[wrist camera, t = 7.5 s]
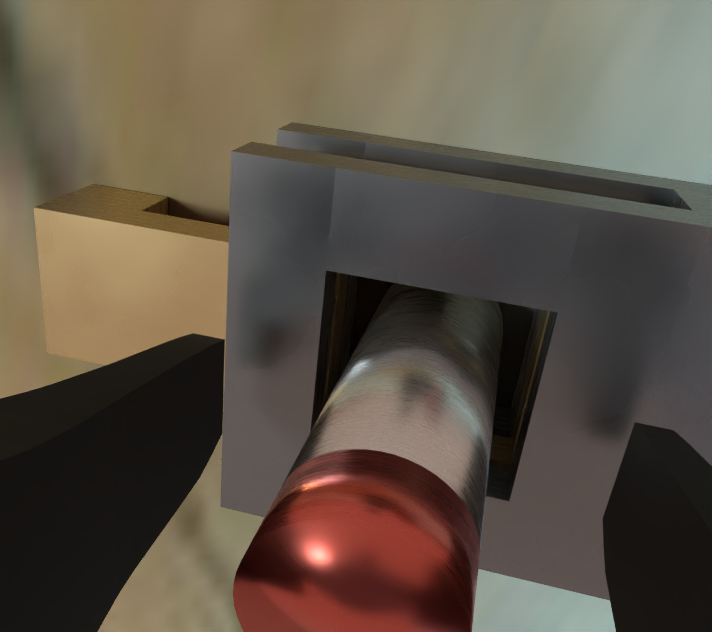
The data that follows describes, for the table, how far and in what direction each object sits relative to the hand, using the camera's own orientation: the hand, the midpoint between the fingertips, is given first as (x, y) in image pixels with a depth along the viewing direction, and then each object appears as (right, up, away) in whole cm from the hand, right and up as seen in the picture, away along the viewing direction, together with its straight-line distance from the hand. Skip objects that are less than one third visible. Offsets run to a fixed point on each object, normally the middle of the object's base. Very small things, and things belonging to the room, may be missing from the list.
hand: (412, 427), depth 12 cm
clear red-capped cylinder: (+1, +2, +4) cm, 5 cm away
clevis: (+1, +2, +4) cm, 5 cm away
